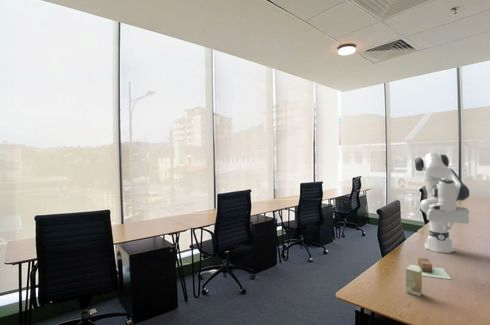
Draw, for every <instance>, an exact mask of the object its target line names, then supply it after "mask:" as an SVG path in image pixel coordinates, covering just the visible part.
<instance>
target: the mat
mask: <svg viewBox="0 0 490 325" xmlns="http://www.w3.org/2000/svg"><path fill="white" fill-rule="evenodd" d="M408 266H409V267H412V268H417V269H420V267H419V265H418V264H417V265H416V264H408ZM422 277H428V278H434V279H435V278H436V279H442V280H443V279H444V280H452V278H451V276H450V275H449V274H448V273H447V272H446V270H445V269H444V268H442V267H433V266H432V273H427V272H422Z"/></svg>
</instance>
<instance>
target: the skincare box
mask: <svg viewBox="0 0 490 325" xmlns="http://www.w3.org/2000/svg"><path fill="white" fill-rule="evenodd" d="M422 278H423V276H422V270H421V269H417V268H412V267H410V266H409V265H408V266H407V267H406V268H405V292H406V293H407V294H411V295H414V296H418V297H420V296H421V295H422V294H423V279H422Z"/></svg>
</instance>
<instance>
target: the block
mask: <svg viewBox="0 0 490 325" xmlns="http://www.w3.org/2000/svg"><path fill="white" fill-rule="evenodd" d="M417 260H418V262H417V263H418V264H417V266H419V267H420V269H421V270H422V272H427V273H432V267H433V264H432V263H431V261H430V260H429V258H427V257H425V258H424V257H418V258H417Z"/></svg>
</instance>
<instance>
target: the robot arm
mask: <svg viewBox="0 0 490 325" xmlns="http://www.w3.org/2000/svg"><path fill="white" fill-rule="evenodd" d="M449 166H450V159H449V157H448V155H446V154H438V153H435V152H428V153H426V154H425V155H424V156H421V157H417V158H415V159H414V160H413V167H414V169H415V170H416V171H417V172H423V180H424V185H425V190H426V192H427V193H428V194H431V195H432V198H425V199H422V200H421V201H420V203H419V208H420V210H421V211H422V212H423V213H424V214H425V215H426V219H427V221H429V230H428V231H429V232H428V234H429V235H428V237H427V238H425V239H424V241H425V242H424V246H425V248H424V250H428V249H429V251H432V252H436V253H445V254H446V253H447V254H448V253H453V252H456V250H455V248H453V242H452V239H451V238H450V232H449V230H450V231H451V229H452V226H453V225H454V223H455V224H466V225H467V224H468V223H469V222H470V218H469V213H470V210H469V209H468V208H466V207H464V206H463V207H462V206H461V207H459V206H458V204H457V201H466V200H467V199H468V198H469V197H470V189H469V187H468V186H467V185H466V184H465V183H464V182H463V181H462V180H461V179H460V177H459V176H458V174H457V173H456V172H455V171H454V170H453V169H452V168H450V167H449Z"/></svg>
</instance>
